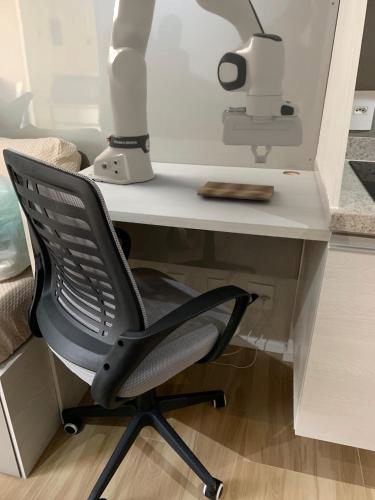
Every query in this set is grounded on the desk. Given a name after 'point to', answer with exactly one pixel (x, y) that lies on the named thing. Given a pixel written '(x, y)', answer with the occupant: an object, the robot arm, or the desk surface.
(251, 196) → the plank
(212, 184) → the laid board
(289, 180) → the desk surface
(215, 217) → the desk surface
